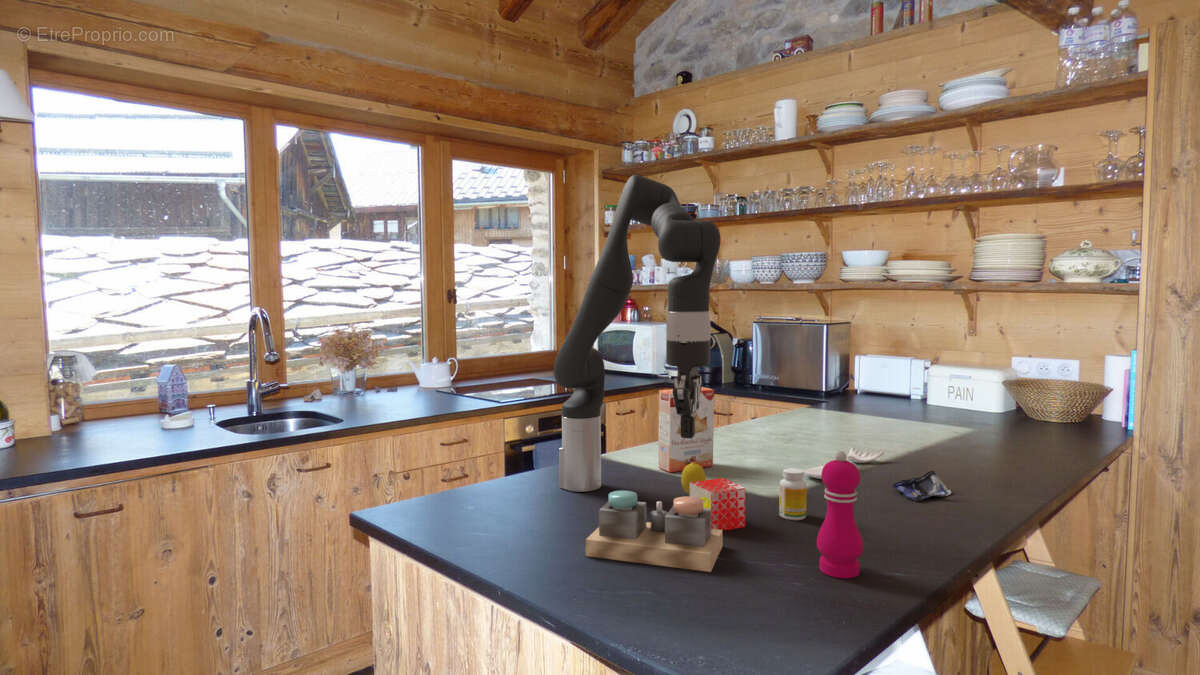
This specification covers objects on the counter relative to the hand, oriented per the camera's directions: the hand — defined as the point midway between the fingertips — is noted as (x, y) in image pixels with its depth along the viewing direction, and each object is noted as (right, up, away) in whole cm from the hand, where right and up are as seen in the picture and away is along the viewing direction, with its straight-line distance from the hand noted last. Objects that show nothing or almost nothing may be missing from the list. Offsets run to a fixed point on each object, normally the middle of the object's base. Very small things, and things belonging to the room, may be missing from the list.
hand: (687, 437), depth 118 cm
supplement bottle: (+24, -20, +22) cm, 38 cm away
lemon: (+6, -19, +35) cm, 41 cm away
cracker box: (+8, -17, +61) cm, 64 cm away
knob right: (0, -18, +1) cm, 18 cm away
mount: (-5, -21, +3) cm, 22 cm away
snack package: (+58, -19, +35) cm, 70 cm away
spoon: (+48, -17, +58) cm, 77 cm away
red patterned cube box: (+8, -20, +18) cm, 28 cm away
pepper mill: (+24, -21, -6) cm, 33 cm away
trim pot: (-4, -18, +6) cm, 19 cm away
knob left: (-11, -18, +5) cm, 22 cm away
